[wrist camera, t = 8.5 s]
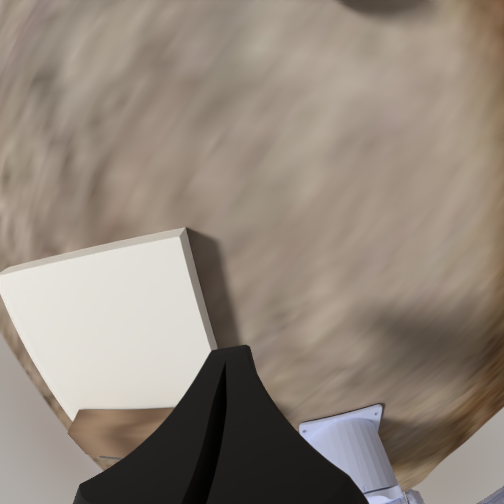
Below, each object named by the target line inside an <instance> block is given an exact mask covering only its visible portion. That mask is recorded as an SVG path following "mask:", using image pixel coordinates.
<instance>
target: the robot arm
mask: <svg viewBox="0 0 504 504" xmlns="http://www.w3.org/2000/svg"><path fill="white" fill-rule="evenodd" d="M381 414H382V406H381V405H379V404H378V405H374V406H371V407H367V408H364V409H360V410H356V411H353V412H349V413H345V414H341V415H337V416H333V417H328V418H324V419H319V420H314V421H309V422H304V423H301V424H300V425H299V432H300V434H299V433H298V432H297V431H296V430H295V429H294V427H293V426H292V425H291V424H290V423H289V422H288V420H287V419H286V418H285V417H284V415H283V414H282V413H281V412H280V410H279V409H278V408H277V406H276V405H275V403H274V402H273V400H272V399H271V397H270V396H269V394H268V393H267V391H266V389H265V388H264V386H263V384H262V382H261V380H260V378H259V376H258V374H257V372H256V368H255V364H254V360H253V357H252V353H251V349H250V347H249V346H247V345H242V346H236V347H230V348H223V349H217V350H212V351H211V352H210V353H209V355H208V357H207V359H206V360H205V362H204V364H203V366H202V367H201V369H200V371H199V372H198V374H197V376H196V377H195V379H194V381H193V382H192V384H191V385H190V387H189V388H188V390H187V391H186V393H185V394H184V396H183V397H182V398H181V400H180V401H179V403H178V404H177V405H176V407H175V408H174V409H173V411H172V412H171V413H170V414H169V416H168V417H167V418H166V419H165V420H164V421H163V423H162V424H161V425H160V426H159V427H158V428H157V429H156V430H155V431H154V432H153V433H152V434H151V435H150V436H149V437H148V438H147V439H146V440H145V441H143V442H142V443H141V444H140V445H139V446H138V447H137V448H136V449H135V450H133V451H132V452H131V453H129V454H128V455H127V456H126V457H124V458H123V459H122V460H120V461H119V462H117V463H116V464H114V465H113V466H111V467H110V468H108V469H107V470H105V471H103V472H102V473H100V474H98V475H96V476H95V477H93V478H91V479H89V480H87V481H85V482H83V483H81V484H80V485H79V488H78V490H77V493H76V496H75V500H74V502H73V504H407V502H406V499H405V497H404V494H403V492H402V489H401V486H400V485H399V484H398V482H397V479H396V477H395V474H394V472H393V469H392V467H391V464H390V462H389V459H388V457H387V454H386V452H385V449H384V447H383V445H382V442H381V440H380V437H379V435H378V429H379V424H380V419H381ZM405 494H406V496H407V499H408V504H424V502H423V499H422V497H421V495H420V493H419V492H418V491H413V490H412V489H409V490H407V491H405ZM477 504H504V486H503V487H502V488H500V489H499V490H497V491H496V492H494V493H493V494H491V495H490V496H488V497H487V498H485V499H484V500H482V501H481V502H479V503H477Z"/></svg>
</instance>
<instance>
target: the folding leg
mask: <svg viewBox="0 0 504 504" xmlns="http://www.w3.org/2000/svg"><path fill="white" fill-rule="evenodd" d="M173 409H174V408H163V409H143V410H82V409H79V410H78V412H77V414H76V416H75V418H74V421H73V423H72V425H71V427H70V429H69V431H68V434H69V436H70V437H71V438H72V439H73V440H74V441H75V443H76V444H77V445H78V446H79V447H80V448H81V449H82V450H83V451H84V452H85V453H86V454H89V455H97V456H107V457H119V458H124V457H126V456H127V455H128V454H129V453H131V452H132V451H133V450H135V449H136V448H137V447H138V446H139V445H140V444H141V443H142V442H143V441H145V440H146V439H147V438H148V437H149V436H150V435H151V434H152V433H153V432H154V431H155V430H156V429H157V428H158V427H159V426H160V425H161V424H162V423H163V421H164V420H165V419H166V418H167V417H168V416H169V414H170V413H171V412H172V411H173Z"/></svg>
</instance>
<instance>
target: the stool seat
mask: <svg viewBox="0 0 504 504" xmlns="http://www.w3.org/2000/svg"><path fill="white" fill-rule="evenodd" d="M0 294H1V296H2V299H3V301H4V303H5V306H6V308H7V310H8V313H9V315H10V317H11V319H12V321H13V323H14V326H15V328H16V330H17V332H18V334H19V336H20V338H21V340H22V342H23V344H24V345H25V347H26V349H27V351H28V353H29V355H30V357H31V358H32V360H33V362H34V364H35V365H36V367H37V369H38V370H39V372H40V374H41V375H42V377H43V379H44V380H45V382H46V384H47V385H48V387H49V388H50V390H51V391H52V393H53V394H54V396H55V397H56V399H57V400H58V402H59V403H60V405H61V406H62V408H63V409H64V410H65V412H66V413H67V415H68V416H69V417H70V419H71V420H72V421H74V418H75V416H76V414H77V412H78V410H79V409H82V410H143V409H163V408H175V407H176V405H177V404H178V403H179V401H180V400H181V398H182V397H183V396H184V394H185V393H186V391H187V390H188V388H189V387H190V385H191V384H192V382H193V381H194V379H195V377H196V376H197V374H198V372H199V371H200V369H201V367H202V366H203V364H204V362H205V360H206V359H207V357H208V355H209V353H210V352H211V351H212V350H217V349H218V348H217V344H216V341H215V337H214V334H213V331H212V327H211V323H210V320H209V316H208V313H207V309H206V305H205V302H204V298H203V294H202V291H201V287H200V283H199V279H198V275H197V271H196V267H195V263H194V259H193V255H192V251H191V247H190V243H189V239H188V235H187V231H186V227H184V228H179V229H174V230H169V231H164V232H159V233H154V234H149V235H145V236H140V237H135V238H130V239H126V240H121V241H117V242H112V243H107V244H103V245H98V246H94V247H90V248H85V249H81V250H77V251H72V252H68V253H64V254H60V255H56V256H51V257H47V258H43V259H39V260H35V261H31V262H27V263H23V264H20V265H16V266H12V267H8V268H7V269H5V270H4V271H2V272H1V273H0ZM100 457H102V458H110V459H118V460H122V459H123V458H119V457H107V456H100Z"/></svg>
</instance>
